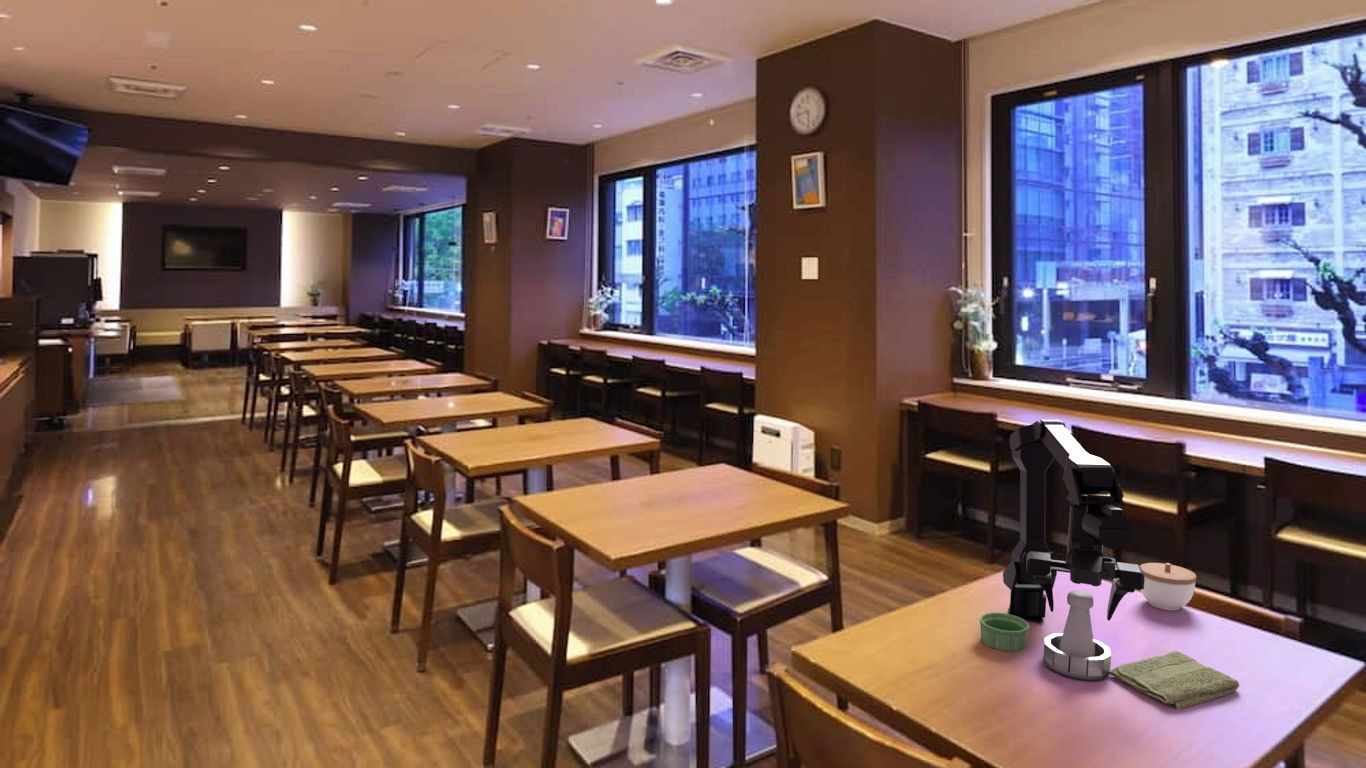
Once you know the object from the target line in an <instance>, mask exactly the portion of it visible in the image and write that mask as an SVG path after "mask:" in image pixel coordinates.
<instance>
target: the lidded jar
mask: <svg viewBox="0 0 1366 768" xmlns="http://www.w3.org/2000/svg"><path fill="white" fill-rule="evenodd" d="M1139 566H1140V567H1141V569H1142V571H1143V573H1144V578H1145V581H1144V589H1141V590H1140V592H1141V594H1142V596H1143V597H1144V599H1145V600H1147V602H1149V603H1148V604H1149V605H1150V604H1151V605H1150V606H1152V607H1154V608H1156V609H1160V610H1165V611H1170V612H1171V611H1175V610H1176V611H1179V609H1180V608H1181V609H1182V608H1183V607H1185V606H1186V605H1188V604H1189V602H1190V601H1191V600H1192V598H1193V595H1194V593H1195V589H1196V581H1197V575H1196V573H1195V572H1193V571H1192V570H1189V569H1188V568H1184V567H1182V566H1178V565H1173V564H1171V563H1169V562H1165V563H1162V562H1148V563H1147V562H1146V563H1142V564H1140V565H1139ZM1181 609H1180V610H1181ZM1176 611H1175V612H1176Z"/></svg>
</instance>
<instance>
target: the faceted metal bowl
mask: <svg viewBox="0 0 1366 768" xmlns="http://www.w3.org/2000/svg"><path fill="white" fill-rule="evenodd" d="M1062 635H1063V632H1062V633H1051V634H1049V635H1047V636H1045V637H1044V640H1043V641H1044V642H1043V655H1042V664H1043V666H1044V667H1045V668H1046V669H1048V671H1050V672H1052V673H1054V674H1056V675H1057V676H1060V677H1063V678H1067V679H1069V680H1074V681H1079V682H1088V683H1090V682H1091V683H1093V682H1096V683H1097V682H1101V681H1104V680H1107V679H1109V677H1110V676H1111V675H1110V674H1109V672H1110V671H1111V664H1112V652H1111V651H1112V650H1111V649H1110V647H1109V646H1108V645H1106V644H1105V643H1103V642H1102V641H1099V640H1097V639H1094V638H1093V641H1094V648H1095V655H1094V657H1080V656H1075V655H1070V654H1067V653H1065V652H1062V651H1060V642H1061V638H1062Z"/></svg>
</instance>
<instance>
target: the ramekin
mask: <svg viewBox="0 0 1366 768" xmlns="http://www.w3.org/2000/svg"><path fill="white" fill-rule="evenodd" d="M979 624H980V640H981V642H982V643H983V644H984V645H986V646H987V647H989V648H991V647H992V648H991V649H994V648H995V649H994V650H997V649H998V650H997V651H1001V650H1002V651H1004V652H1018V651H1021V650H1023V649H1024V648H1025V646H1026V644H1027V643H1026V642H1027V636H1028V632H1029V629H1030V624H1029V622H1028V621H1026V620H1024V619H1022V618H1020V617H1017V616H1014V615H1010V614H1009V613H1005V612H987V613H984V614H981V615H980V616H979Z"/></svg>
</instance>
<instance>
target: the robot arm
mask: <svg viewBox="0 0 1366 768" xmlns="http://www.w3.org/2000/svg"><path fill="white" fill-rule="evenodd" d="M1009 447H1010V449H1011V458H1012V459H1013V461H1014V462H1015V464H1016V466H1017V468H1018V469H1019V471H1020V476H1019V477H1020V483H1019V484H1020V491H1019V492H1020V493H1019V494H1020V495H1019V497H1020V498H1019V499H1020V505H1019V506H1020V507H1019V508H1020V510H1019V511H1020V513H1019V515H1020V516H1019V517H1020V519H1019V520H1020V521H1019V524H1020V525H1019V526H1020V527H1019V528H1020V529H1019V530H1020V531H1019V535H1020V537H1019V541H1018V542H1017V544H1016V545H1015V547H1014V548H1013V550H1011V551H1012V552H1011V558H1010V559H1011V560H1010V562H1009V563H1008V565H1007V566H1006V567H1005V569H1004V570H1003V572H1002V580H1003V584H1004V585H1005V586H1006V587H1007V588H1008V589H1009V590H1010V597H1009V598H1010V600H1009V605H1008V614H1010V615H1014V616H1017V617H1020V618H1022V619H1024V620H1025V621H1026V622H1033V623H1039V624H1042V623H1043V620H1044V619H1043V618H1046V610H1047V609H1046V608H1047V602H1048V606H1049V610H1050V612H1051V613H1053V612H1054V593H1053V589H1054V587H1055V582H1056V579H1057V575H1058V572H1059V573H1060V572H1061V573H1069V581H1071V582H1072V583H1073V584H1076V585H1080V584H1083V585H1089V586H1092V587H1100V586H1101V585H1102V580H1106V581H1107V580H1108V581H1109V580H1112V582H1111V588H1110V594H1109V598H1108V599H1109V600H1108V605H1107V608H1106V609H1107V611H1106V620H1107V621H1109V622H1110V621H1111V620H1112V618H1113V615H1114V613H1115V611H1116V610H1117V608H1118V605H1119V604H1120V602H1121V601H1122V599H1123V598H1124V597H1125V596H1126V595H1127V594H1129V593H1131V594H1133V593H1135V591H1136V590H1140V591H1141V589H1144V581H1145V578H1144V573H1143V571H1142V569H1141V567H1140V565H1139V564H1136V563H1126V562H1119V561H1117V562H1116V558H1113V557H1106V556H1104V555H1103V552H1104V551H1103V550H1104V547H1105V548H1107V549H1109V550H1113V551H1115V550H1116V551H1117V550H1121V549H1124V548H1126V547H1128V546H1129V545H1130V543H1131V542H1132V540H1133V537H1134V533H1135V532H1134V531H1135V530H1134V529H1133V525H1132V524H1131V522H1130V521H1129V519H1127V518H1125V517H1124V516H1123V515H1124V514H1123V513H1124V510H1123V509H1122V508H1120V507H1124V505H1125V503H1124V500H1123V498H1124V497H1125V496H1124V493H1123V490H1122V488H1121V485H1120V483H1119V480H1118V477H1117V473H1116V472H1115V470H1114V468H1113V466H1111V464H1110V463H1109V462H1107V461H1106V460H1104V459H1103V458H1102V457H1099V456H1096V455H1093V454H1090V453H1089V452H1088V451H1086V450H1085V448H1083V447H1082V445H1081V444H1080V443H1079V442H1078V441H1077V439H1076V438H1075V437H1074V436H1073V435H1072V434H1071V432H1070V431H1069V430H1068V429H1067V427H1066V424H1065V422H1064V421H1061V420H1060V419H1039V420H1036V421H1034V422H1033V423H1032V424H1028V425H1024V426H1021V427H1018V428H1016V430H1014V431H1013V432H1012V433H1011V434H1010V436H1009ZM1054 460H1056V461H1057V462H1058V464H1059V465H1060V466H1061V468H1062V469H1063V476H1062V480H1063V481H1064V485H1065V487H1066V489H1067V491H1068V493H1069V494H1068V495H1067V496H1066V500H1068V501H1069V503H1070V505H1069V518H1068V531H1067V545H1066V556H1065V557H1066V558H1065V560H1058V559H1056V555H1055V552H1051V549H1050V548H1049V546H1048V545H1047V542H1046V475H1047V474H1046V472H1047V470H1048V469H1049V467H1050V466H1051V464H1052V463H1053V462H1054Z"/></svg>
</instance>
